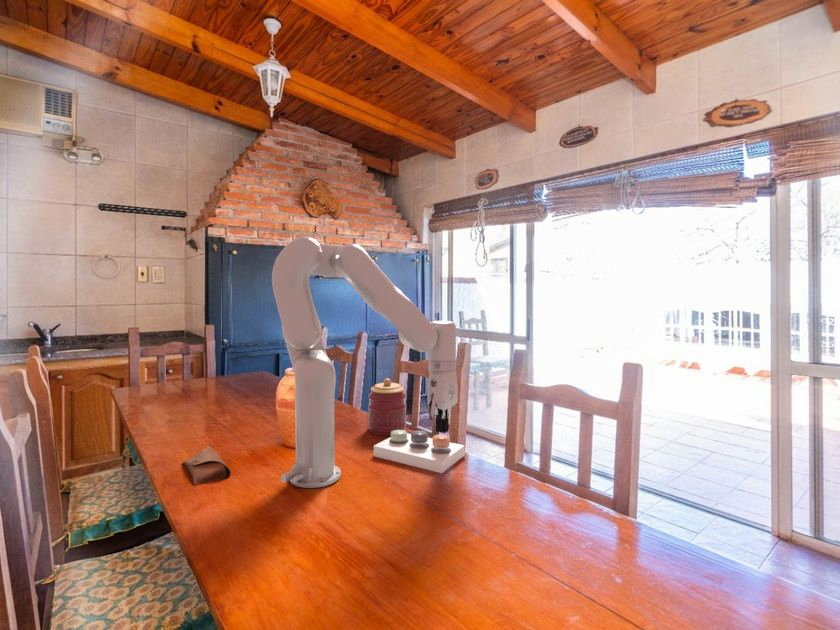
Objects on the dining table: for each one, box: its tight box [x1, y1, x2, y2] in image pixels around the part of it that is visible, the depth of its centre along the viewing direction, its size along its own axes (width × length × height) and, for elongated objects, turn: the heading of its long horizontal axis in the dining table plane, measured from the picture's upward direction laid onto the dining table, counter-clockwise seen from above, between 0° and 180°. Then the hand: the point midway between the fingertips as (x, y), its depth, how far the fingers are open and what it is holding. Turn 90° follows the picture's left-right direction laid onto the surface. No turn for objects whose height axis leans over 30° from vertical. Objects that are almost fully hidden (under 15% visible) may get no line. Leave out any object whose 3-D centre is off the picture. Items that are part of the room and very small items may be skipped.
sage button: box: [390, 430, 408, 442], centre depth 127 cm, size 5×5×2 cm
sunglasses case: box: [181, 445, 231, 486], centre depth 114 cm, size 18×7×7 cm, turn 39°
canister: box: [367, 377, 407, 436], centre depth 146 cm, size 13×13×18 cm
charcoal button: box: [410, 430, 429, 443], centre depth 124 cm, size 5×5×2 cm
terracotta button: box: [431, 434, 451, 448], centre depth 120 cm, size 5×5×2 cm
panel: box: [373, 433, 466, 474], centre depth 124 cm, size 14×22×3 cm, turn 59°
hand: (442, 431), depth 120 cm, fingers closed
